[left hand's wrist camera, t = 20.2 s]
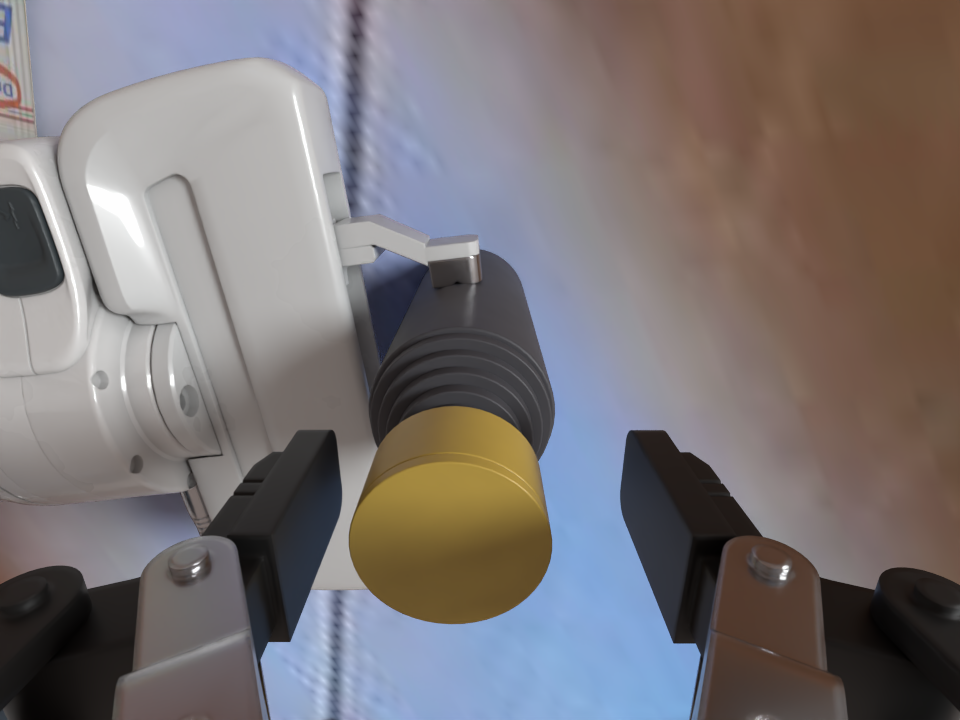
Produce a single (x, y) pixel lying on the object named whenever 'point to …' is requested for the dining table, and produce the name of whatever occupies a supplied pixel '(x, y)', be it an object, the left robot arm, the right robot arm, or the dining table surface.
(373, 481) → the cap
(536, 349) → the bottle
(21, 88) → the baking ingredient package
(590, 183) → the dining table surface
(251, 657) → the left robot arm
